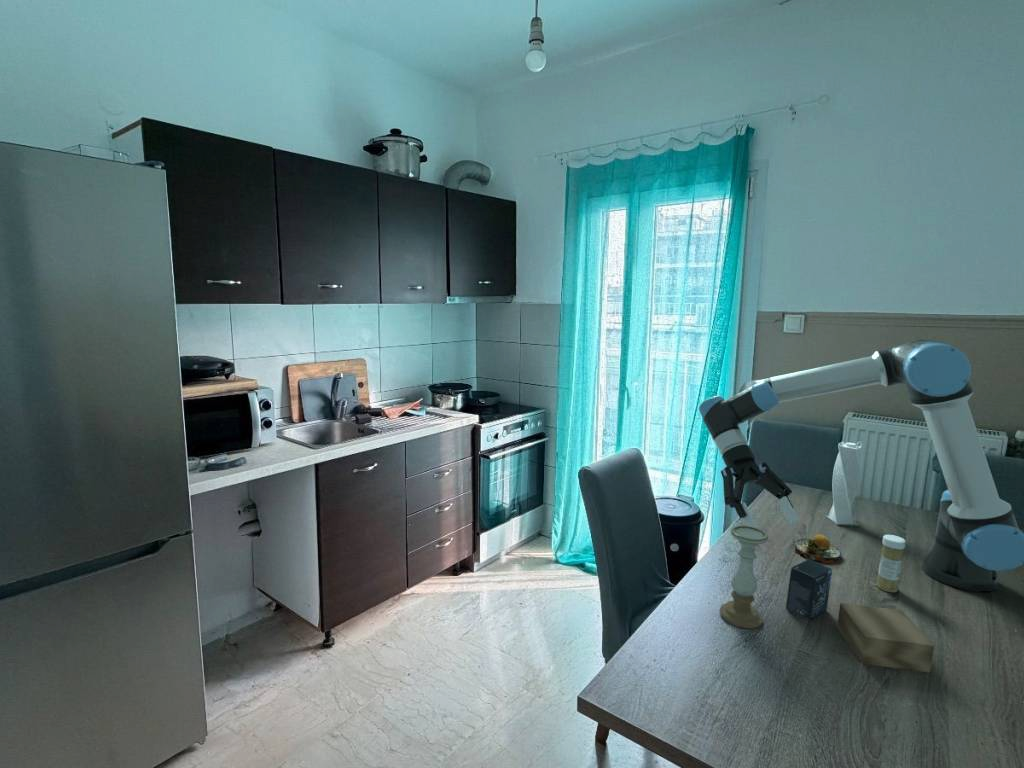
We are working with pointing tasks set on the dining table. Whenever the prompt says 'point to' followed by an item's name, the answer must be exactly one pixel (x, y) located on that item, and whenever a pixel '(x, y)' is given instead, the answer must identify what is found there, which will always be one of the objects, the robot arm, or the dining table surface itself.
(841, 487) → the skyscraper
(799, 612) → the box
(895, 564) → the sprinkles bottle
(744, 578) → the candle holder
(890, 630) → the tan square block
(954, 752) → the dining table surface
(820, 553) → the burger
